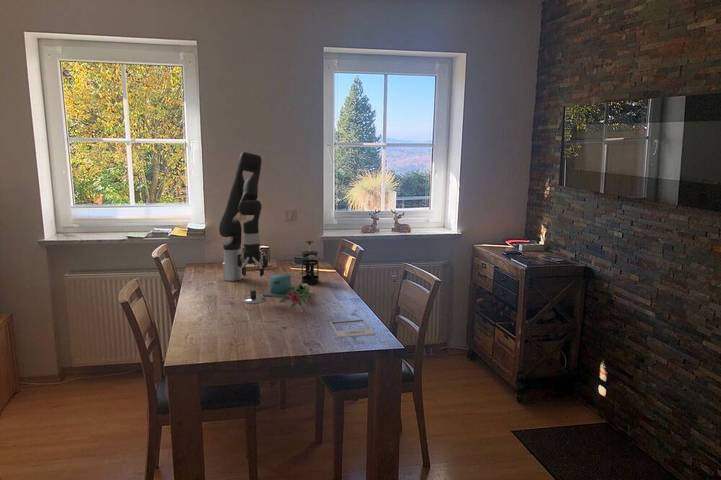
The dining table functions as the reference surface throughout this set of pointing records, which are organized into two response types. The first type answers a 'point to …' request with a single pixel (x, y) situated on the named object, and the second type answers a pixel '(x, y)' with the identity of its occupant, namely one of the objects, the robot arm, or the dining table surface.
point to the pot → (279, 286)
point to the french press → (309, 278)
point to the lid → (253, 298)
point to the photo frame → (354, 332)
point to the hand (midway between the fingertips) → (253, 275)
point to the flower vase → (300, 290)
